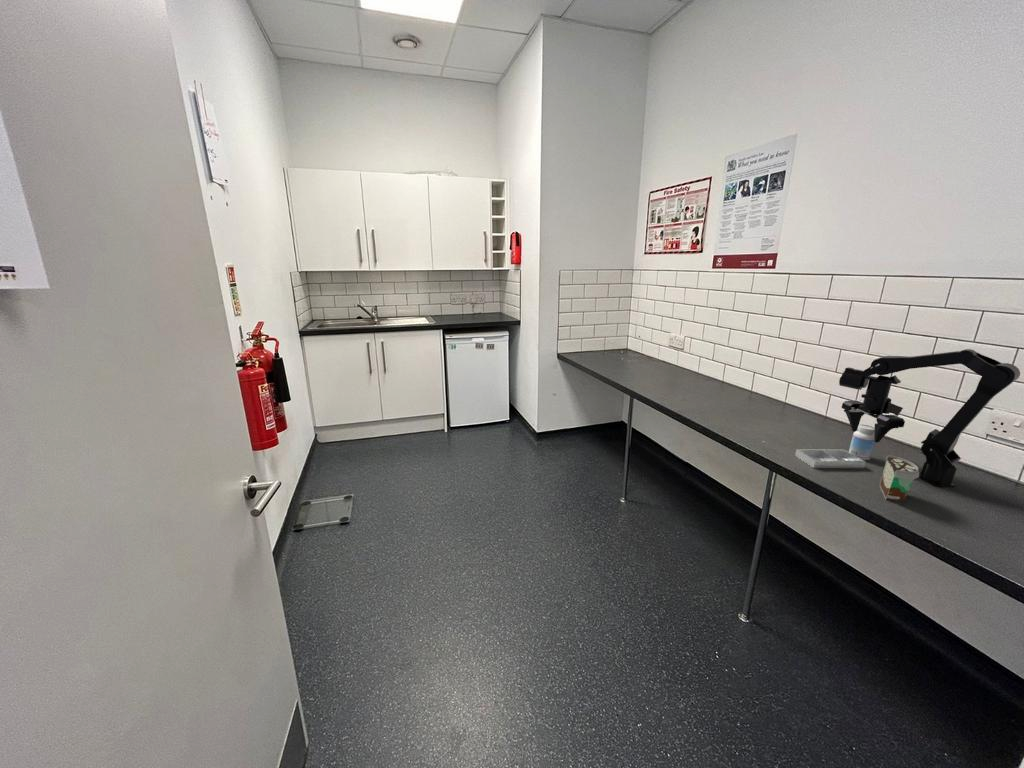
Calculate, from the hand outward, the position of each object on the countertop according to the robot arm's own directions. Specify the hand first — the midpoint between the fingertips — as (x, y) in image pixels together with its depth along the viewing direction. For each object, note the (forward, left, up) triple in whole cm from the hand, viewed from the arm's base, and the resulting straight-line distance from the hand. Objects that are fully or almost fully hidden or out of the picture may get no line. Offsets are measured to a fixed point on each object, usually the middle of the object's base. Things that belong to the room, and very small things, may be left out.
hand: (865, 436), depth 143 cm
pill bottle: (0, 0, -8) cm, 8 cm away
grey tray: (-4, +14, -8) cm, 16 cm away
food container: (-25, +10, -8) cm, 28 cm away
